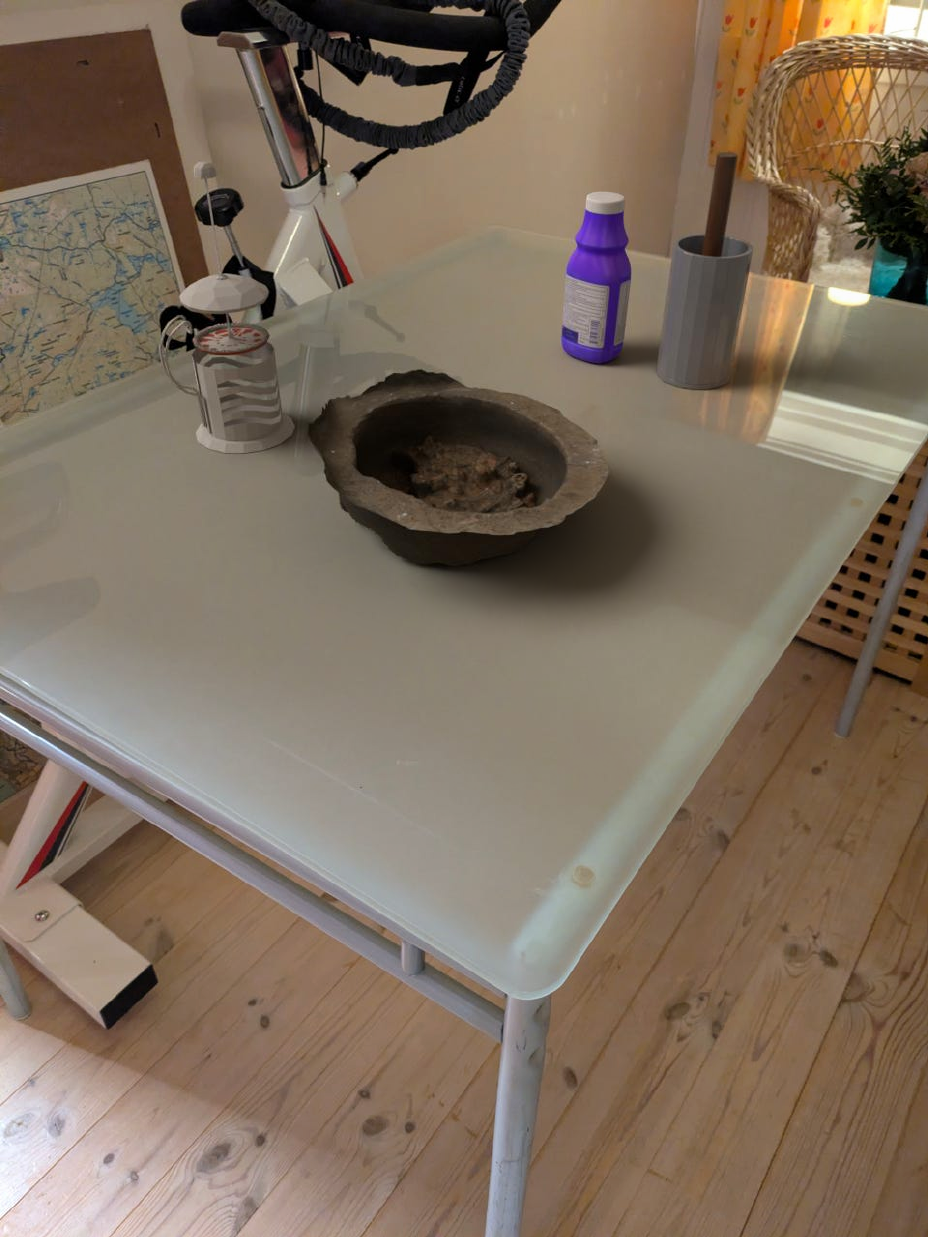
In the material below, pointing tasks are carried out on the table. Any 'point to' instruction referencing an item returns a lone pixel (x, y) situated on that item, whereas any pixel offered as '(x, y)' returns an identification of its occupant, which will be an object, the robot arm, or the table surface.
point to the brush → (719, 204)
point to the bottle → (597, 282)
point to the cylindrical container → (702, 312)
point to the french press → (231, 361)
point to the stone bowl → (454, 466)
